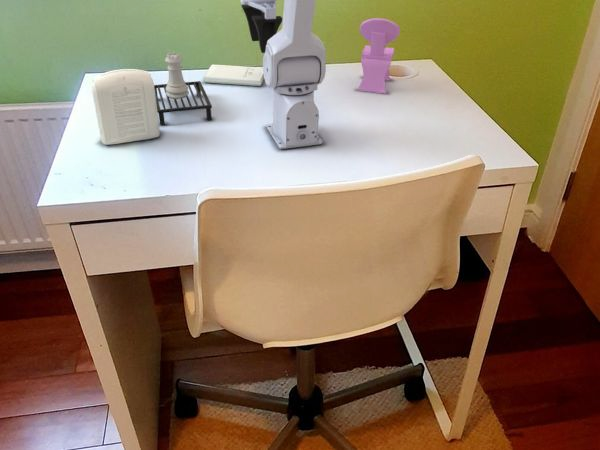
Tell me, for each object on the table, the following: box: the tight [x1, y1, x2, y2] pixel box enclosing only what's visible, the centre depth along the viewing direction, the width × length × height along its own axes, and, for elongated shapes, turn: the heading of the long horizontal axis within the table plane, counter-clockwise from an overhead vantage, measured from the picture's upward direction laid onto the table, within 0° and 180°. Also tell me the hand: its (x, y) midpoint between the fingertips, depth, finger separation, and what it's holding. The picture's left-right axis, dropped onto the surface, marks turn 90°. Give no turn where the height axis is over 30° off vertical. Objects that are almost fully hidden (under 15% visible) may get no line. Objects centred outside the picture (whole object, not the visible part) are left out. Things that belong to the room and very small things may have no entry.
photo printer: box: [91, 68, 161, 145], centre depth 95 cm, size 10×4×12 cm, turn 115°
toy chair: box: [357, 17, 401, 95], centre depth 118 cm, size 8×9×15 cm
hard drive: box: [203, 64, 265, 87], centre depth 123 cm, size 2×8×12 cm
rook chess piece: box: [164, 51, 190, 100], centre depth 105 cm, size 4×4×8 cm
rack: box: [154, 80, 213, 126], centre depth 108 cm, size 13×10×3 cm
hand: (261, 46), depth 113 cm, fingers open, 7 cm apart
